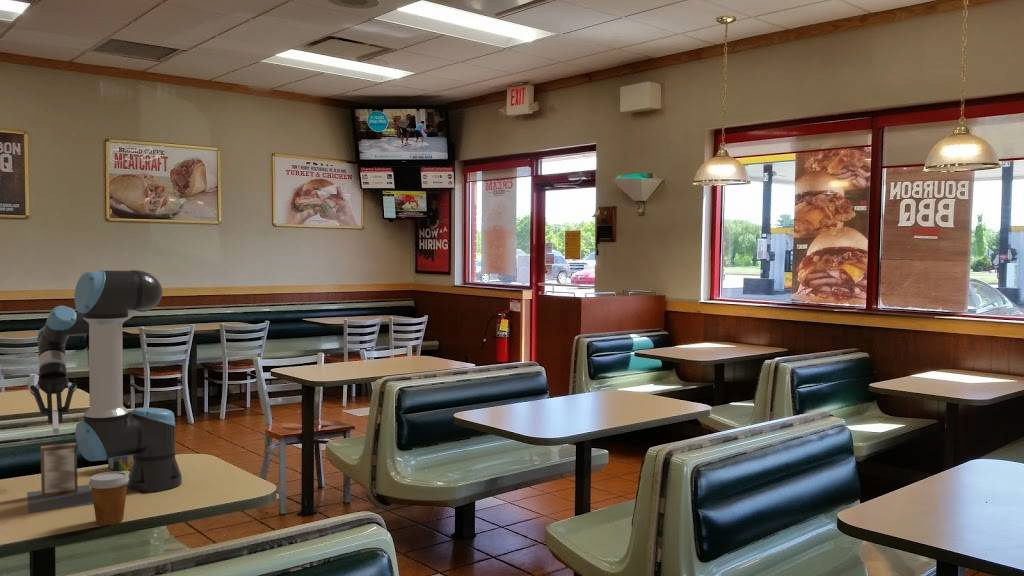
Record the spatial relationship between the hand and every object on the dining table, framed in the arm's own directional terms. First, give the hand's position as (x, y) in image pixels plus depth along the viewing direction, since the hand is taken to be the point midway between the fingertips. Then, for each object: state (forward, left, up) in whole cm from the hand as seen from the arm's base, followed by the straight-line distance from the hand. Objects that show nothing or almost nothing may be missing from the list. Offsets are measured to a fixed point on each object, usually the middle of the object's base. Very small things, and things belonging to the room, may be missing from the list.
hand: (55, 430), depth 249 cm
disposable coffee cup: (-10, +44, -17) cm, 49 cm away
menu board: (0, +11, -16) cm, 20 cm away
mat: (0, +16, -17) cm, 23 cm away
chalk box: (-21, -12, -17) cm, 29 cm away
